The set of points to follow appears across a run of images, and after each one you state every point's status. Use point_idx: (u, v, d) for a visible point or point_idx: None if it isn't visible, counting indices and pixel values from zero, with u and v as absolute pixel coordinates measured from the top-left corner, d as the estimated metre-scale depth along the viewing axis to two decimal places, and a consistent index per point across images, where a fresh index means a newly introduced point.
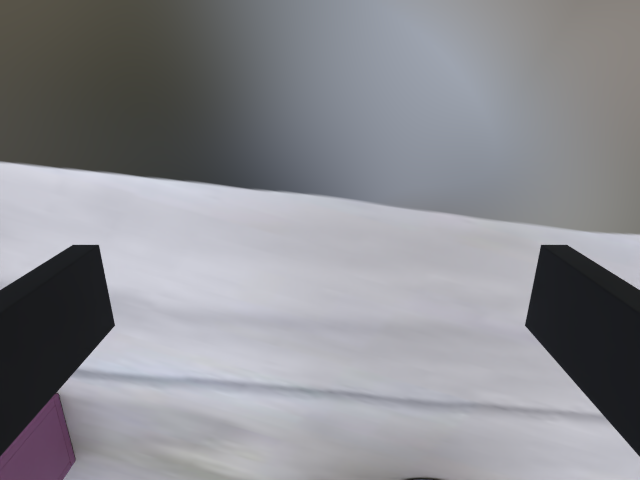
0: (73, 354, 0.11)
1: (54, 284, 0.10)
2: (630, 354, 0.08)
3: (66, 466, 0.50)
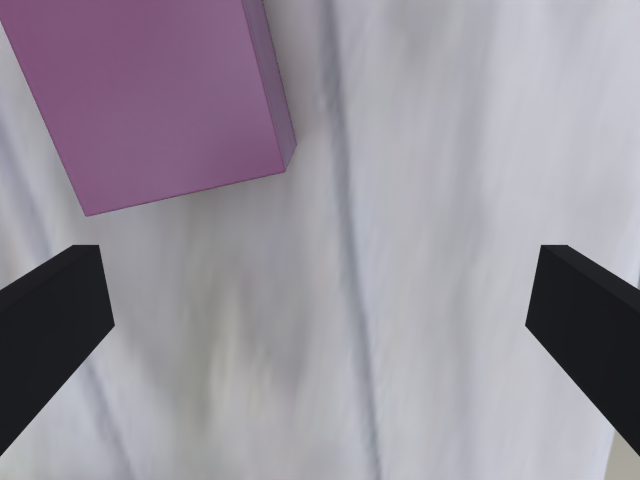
0: (73, 354, 0.11)
1: (54, 284, 0.10)
2: (630, 354, 0.08)
3: None
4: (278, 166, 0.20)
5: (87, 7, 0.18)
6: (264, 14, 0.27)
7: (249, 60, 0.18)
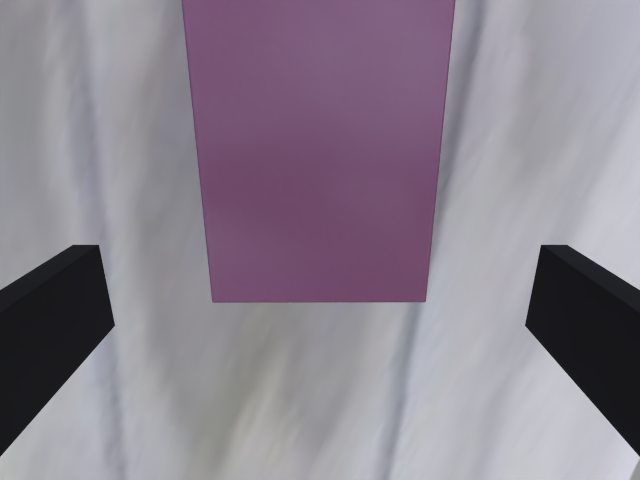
0: (73, 354, 0.11)
1: (53, 284, 0.10)
2: (630, 354, 0.08)
3: None
4: (421, 296, 0.20)
5: (287, 117, 0.17)
6: None
7: (428, 199, 0.18)
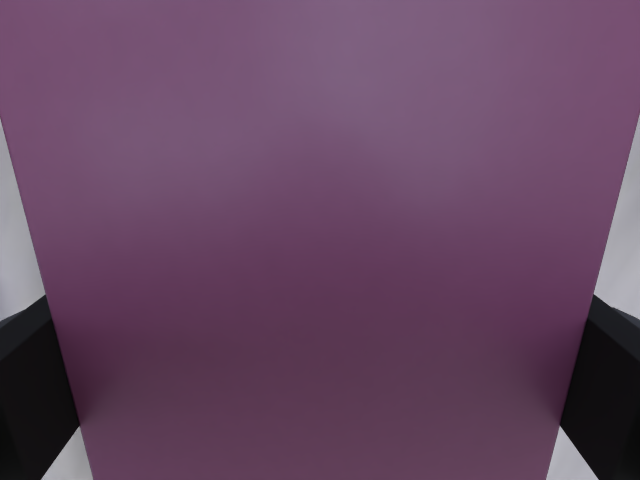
0: None
1: None
2: None
3: None
4: None
5: (241, 152, 0.07)
6: None
7: (567, 333, 0.08)
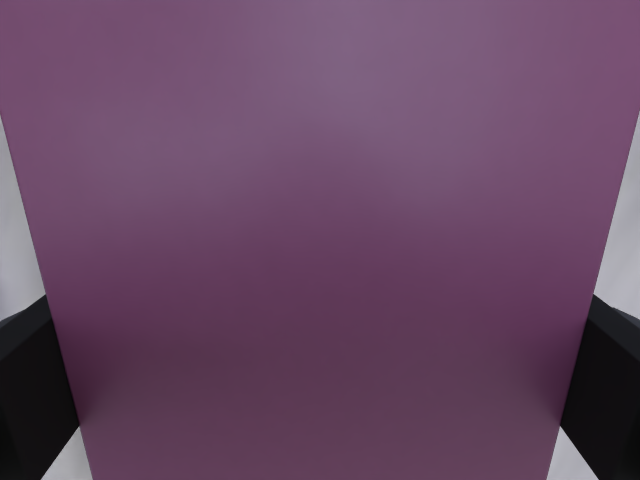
0: None
1: None
2: None
3: None
4: None
5: (241, 151, 0.07)
6: None
7: (567, 332, 0.08)
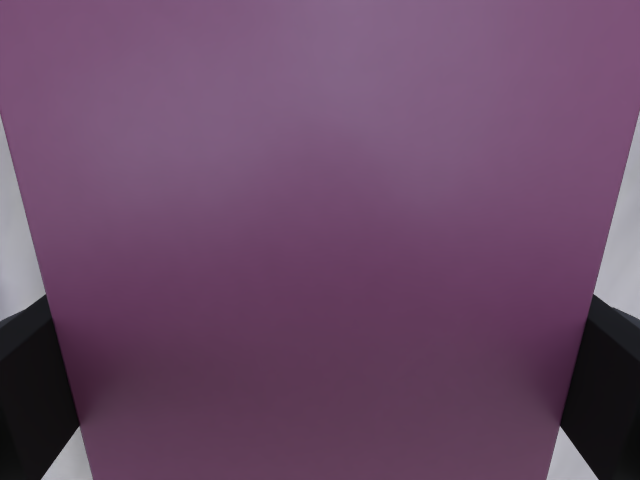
0: None
1: None
2: None
3: None
4: None
5: (241, 151, 0.07)
6: None
7: (567, 333, 0.08)
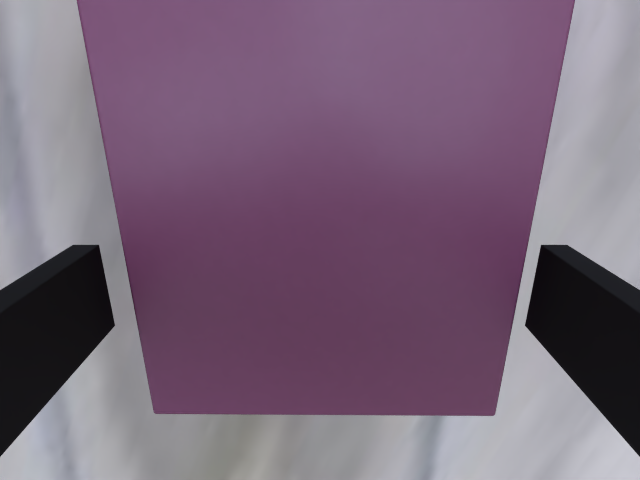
0: (73, 354, 0.11)
1: (54, 284, 0.10)
2: (630, 354, 0.08)
3: None
4: (488, 408, 0.12)
5: (267, 119, 0.09)
6: None
7: (512, 260, 0.11)
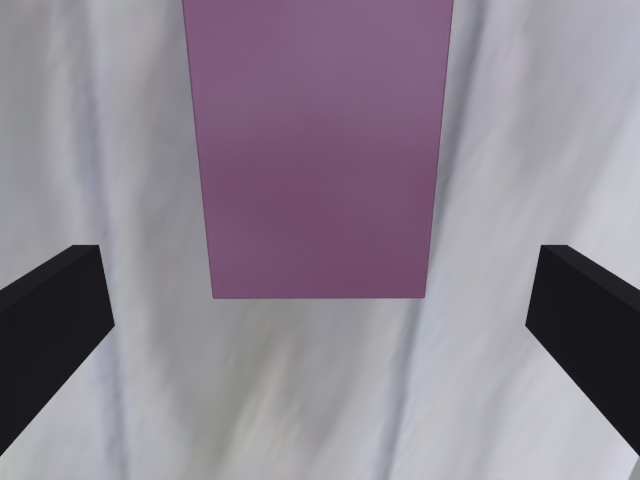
0: (73, 354, 0.11)
1: (54, 284, 0.10)
2: (630, 354, 0.08)
3: None
4: (420, 292, 0.20)
5: (286, 113, 0.17)
6: None
7: (427, 195, 0.18)
